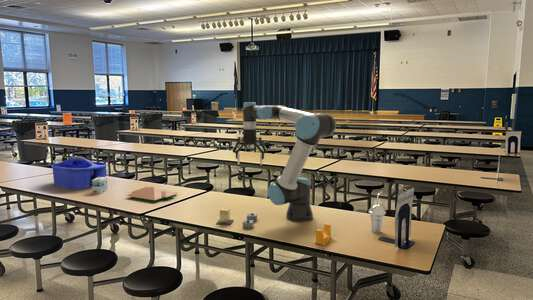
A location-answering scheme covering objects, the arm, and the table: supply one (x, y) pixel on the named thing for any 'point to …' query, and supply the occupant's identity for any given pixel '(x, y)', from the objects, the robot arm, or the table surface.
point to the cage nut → (224, 215)
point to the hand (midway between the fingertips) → (249, 164)
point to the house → (152, 193)
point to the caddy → (77, 172)
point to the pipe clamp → (323, 234)
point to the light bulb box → (99, 185)
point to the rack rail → (250, 221)
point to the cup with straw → (376, 216)
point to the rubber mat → (225, 223)
